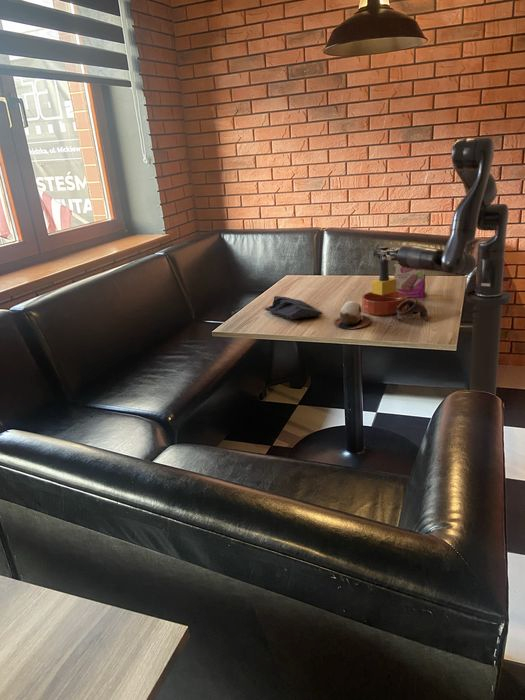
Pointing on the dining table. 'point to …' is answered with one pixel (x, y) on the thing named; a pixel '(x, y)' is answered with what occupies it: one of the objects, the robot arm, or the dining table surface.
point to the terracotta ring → (383, 303)
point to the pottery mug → (412, 309)
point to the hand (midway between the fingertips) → (377, 252)
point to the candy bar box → (410, 281)
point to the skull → (352, 316)
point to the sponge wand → (384, 279)
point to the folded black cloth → (291, 308)
